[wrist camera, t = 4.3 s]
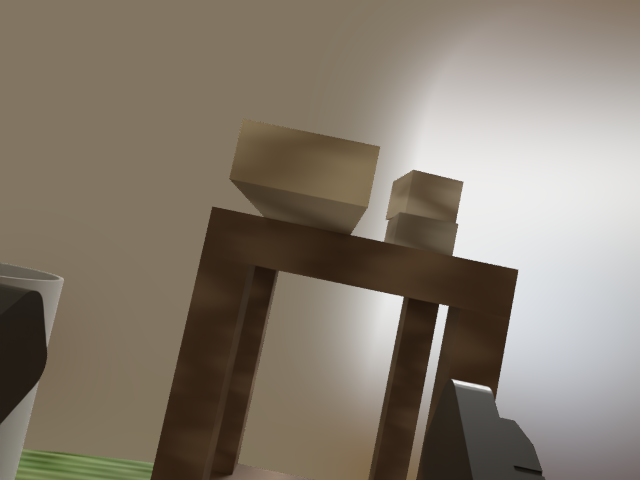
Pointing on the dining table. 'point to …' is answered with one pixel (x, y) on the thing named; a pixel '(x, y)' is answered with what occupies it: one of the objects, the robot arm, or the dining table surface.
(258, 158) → the birch slat
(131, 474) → the dining table surface
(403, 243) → the offcut stack
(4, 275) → the cylinder vase
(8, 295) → the robot arm
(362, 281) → the walnut rack
